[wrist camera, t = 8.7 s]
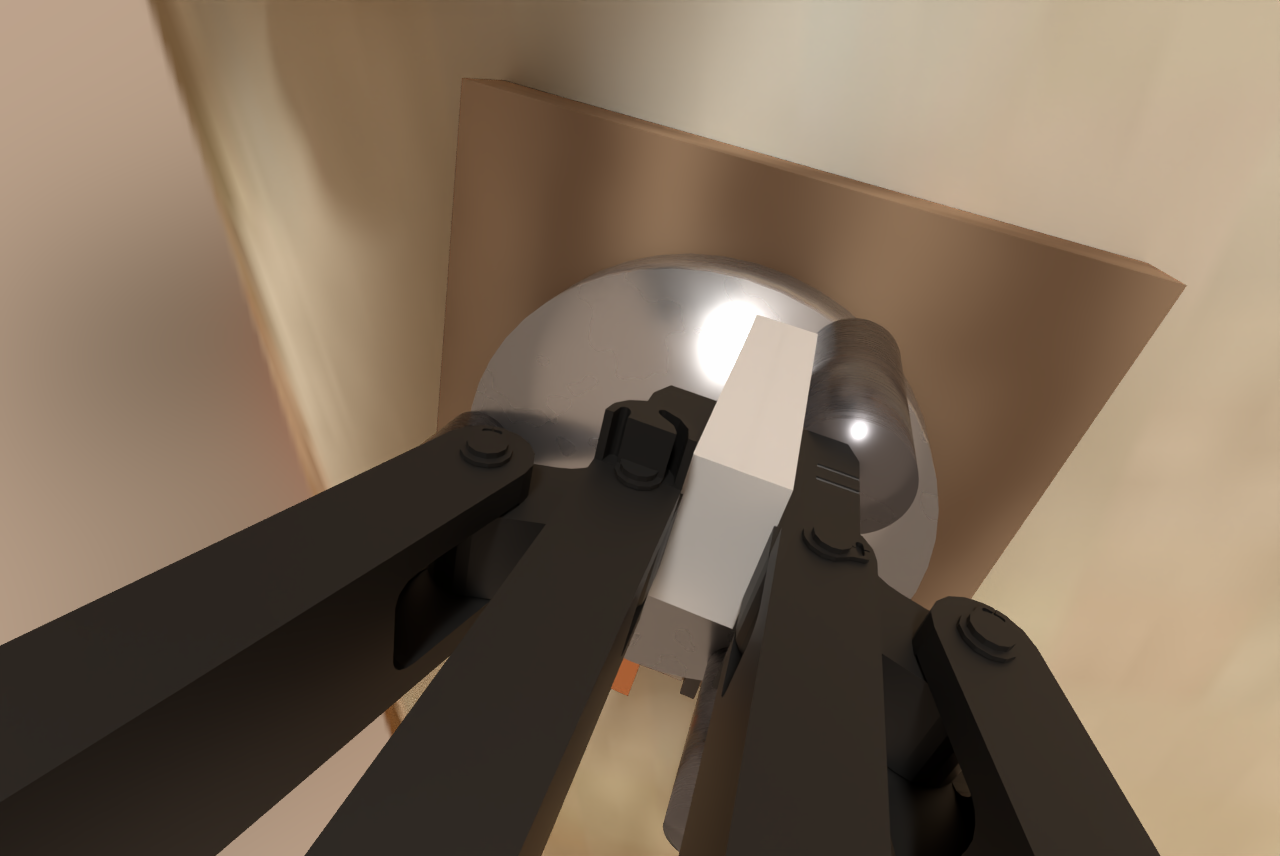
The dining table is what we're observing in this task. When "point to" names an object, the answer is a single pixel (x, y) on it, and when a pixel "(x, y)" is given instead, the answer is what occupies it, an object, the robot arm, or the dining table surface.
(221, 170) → the dining table surface
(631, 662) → the capstan
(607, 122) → the stand
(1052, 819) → the robot arm
